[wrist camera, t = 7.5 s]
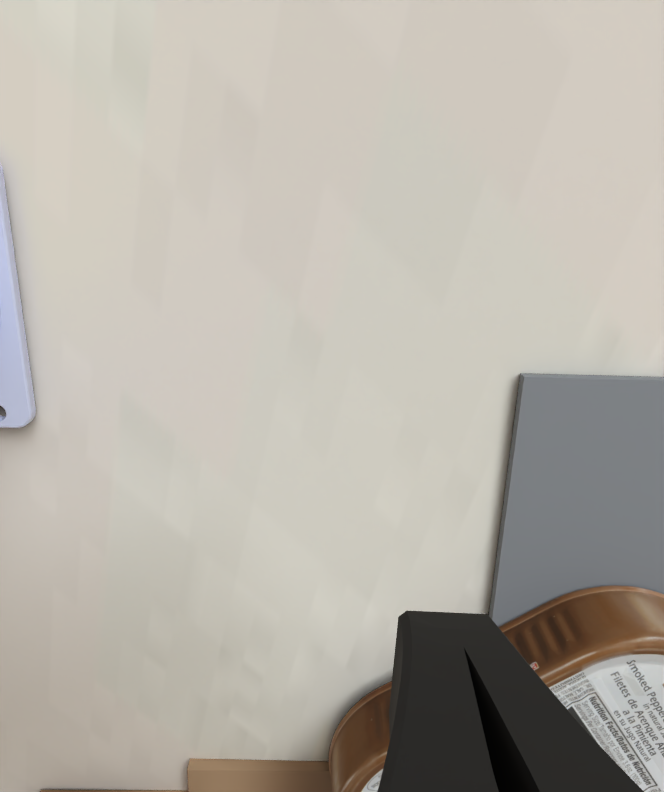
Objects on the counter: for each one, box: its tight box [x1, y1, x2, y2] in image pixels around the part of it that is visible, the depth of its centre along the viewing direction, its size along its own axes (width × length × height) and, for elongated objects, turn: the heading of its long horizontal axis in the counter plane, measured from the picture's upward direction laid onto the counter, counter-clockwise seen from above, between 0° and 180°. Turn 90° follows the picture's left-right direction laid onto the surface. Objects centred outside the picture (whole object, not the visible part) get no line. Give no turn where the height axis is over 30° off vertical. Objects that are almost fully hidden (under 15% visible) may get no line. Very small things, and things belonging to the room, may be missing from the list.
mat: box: [489, 373, 664, 627], centre depth 21 cm, size 8×17×1 cm, turn 178°
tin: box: [329, 585, 664, 792], centre depth 21 cm, size 15×3×8 cm
